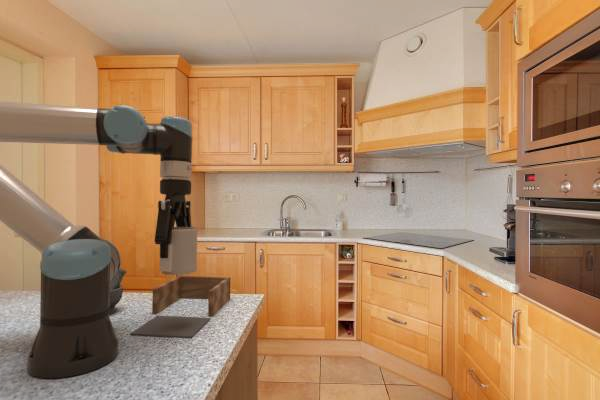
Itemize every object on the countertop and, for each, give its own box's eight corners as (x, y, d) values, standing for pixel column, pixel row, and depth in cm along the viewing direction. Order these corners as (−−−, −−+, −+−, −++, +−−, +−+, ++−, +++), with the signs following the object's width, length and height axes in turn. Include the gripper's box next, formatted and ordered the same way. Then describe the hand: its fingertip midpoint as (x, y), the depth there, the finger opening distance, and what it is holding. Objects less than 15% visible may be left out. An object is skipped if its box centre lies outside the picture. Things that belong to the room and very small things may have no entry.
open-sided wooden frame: (212, 316, 97) (212, 291, 97) (152, 313, 98) (152, 289, 98) (230, 298, 115) (230, 277, 115) (178, 296, 116) (179, 275, 116)
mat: (191, 338, 82) (191, 336, 82) (130, 335, 83) (130, 333, 83) (210, 319, 95) (210, 317, 95) (157, 317, 96) (157, 315, 96)
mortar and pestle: (92, 320, 92) (93, 275, 92) (76, 313, 98) (77, 270, 98) (133, 310, 101) (134, 269, 101) (117, 304, 107) (118, 265, 107)
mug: (203, 271, 88) (203, 228, 88) (170, 276, 82) (171, 230, 82) (180, 264, 97) (181, 225, 97) (149, 269, 91) (150, 226, 91)
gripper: (171, 176, 78) (169, 277, 78) (205, 181, 99) (204, 260, 99) (138, 175, 78) (137, 276, 78) (179, 181, 100) (178, 259, 100)
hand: (174, 267), depth 89 cm, fingers closed on mug, 9 cm apart
